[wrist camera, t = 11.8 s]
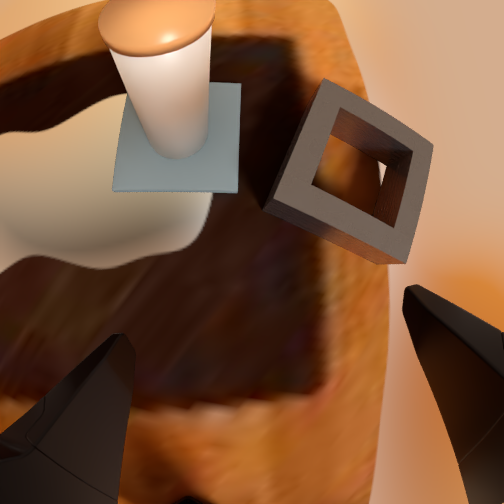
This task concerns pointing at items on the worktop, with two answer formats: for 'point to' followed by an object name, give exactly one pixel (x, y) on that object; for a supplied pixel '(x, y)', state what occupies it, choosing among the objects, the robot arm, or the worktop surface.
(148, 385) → the worktop surface
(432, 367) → the robot arm
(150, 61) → the plug
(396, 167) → the frame
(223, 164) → the pad
